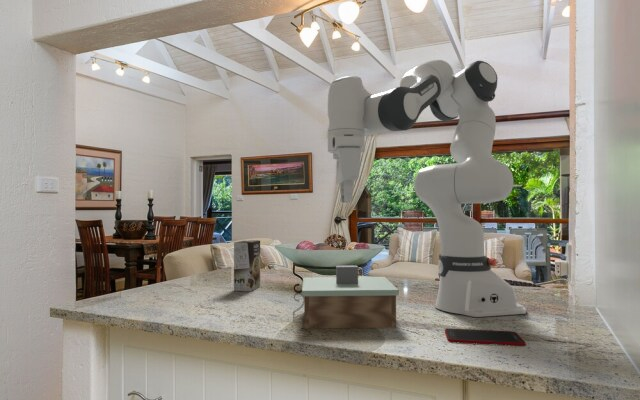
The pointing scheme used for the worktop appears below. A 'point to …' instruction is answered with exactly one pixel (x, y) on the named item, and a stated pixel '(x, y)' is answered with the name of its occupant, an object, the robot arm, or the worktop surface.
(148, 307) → the worktop surface
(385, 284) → the lid
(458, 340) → the cell phone
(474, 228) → the robot arm
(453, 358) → the worktop surface
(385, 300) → the box
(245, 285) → the coffee box
